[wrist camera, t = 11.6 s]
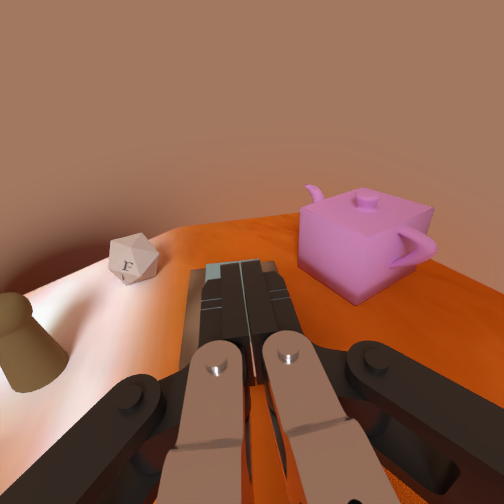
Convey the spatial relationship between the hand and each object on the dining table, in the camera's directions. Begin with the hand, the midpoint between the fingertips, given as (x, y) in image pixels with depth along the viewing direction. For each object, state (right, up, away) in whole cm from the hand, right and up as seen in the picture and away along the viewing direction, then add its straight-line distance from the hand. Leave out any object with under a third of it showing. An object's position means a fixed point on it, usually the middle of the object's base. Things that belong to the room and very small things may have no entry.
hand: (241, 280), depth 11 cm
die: (-20, -4, +39) cm, 44 cm away
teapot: (+18, -2, +39) cm, 43 cm away
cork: (-26, -14, +23) cm, 37 cm away
